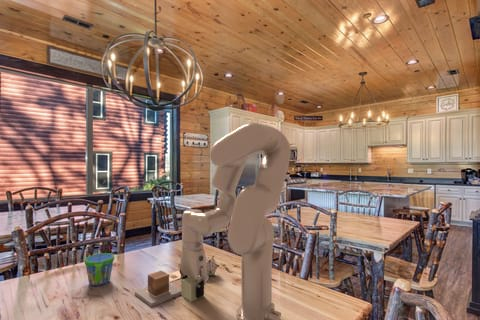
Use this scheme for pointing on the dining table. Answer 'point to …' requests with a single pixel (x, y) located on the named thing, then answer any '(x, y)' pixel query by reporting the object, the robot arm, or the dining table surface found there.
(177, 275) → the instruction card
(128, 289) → the dining table surface
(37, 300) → the dining table surface
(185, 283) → the sage block
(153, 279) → the walnut block
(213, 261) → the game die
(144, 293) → the plate
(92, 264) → the snack cup
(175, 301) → the dining table surface
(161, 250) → the dining table surface
